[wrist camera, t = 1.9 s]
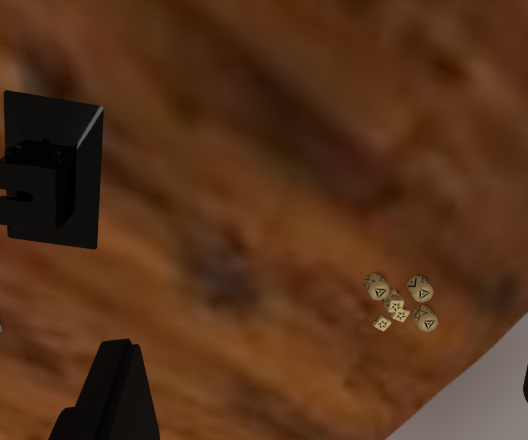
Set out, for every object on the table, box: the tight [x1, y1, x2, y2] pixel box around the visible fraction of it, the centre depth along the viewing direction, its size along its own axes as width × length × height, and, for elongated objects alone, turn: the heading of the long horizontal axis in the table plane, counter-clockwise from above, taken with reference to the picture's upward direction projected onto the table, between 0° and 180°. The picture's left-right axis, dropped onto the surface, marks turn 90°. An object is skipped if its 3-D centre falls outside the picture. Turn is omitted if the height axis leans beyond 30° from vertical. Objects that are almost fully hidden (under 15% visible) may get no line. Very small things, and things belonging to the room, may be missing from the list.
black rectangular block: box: [0, 90, 104, 249], centre depth 25 cm, size 12×7×5 cm, turn 169°
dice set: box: [364, 273, 438, 332], centre depth 32 cm, size 5×5×2 cm
